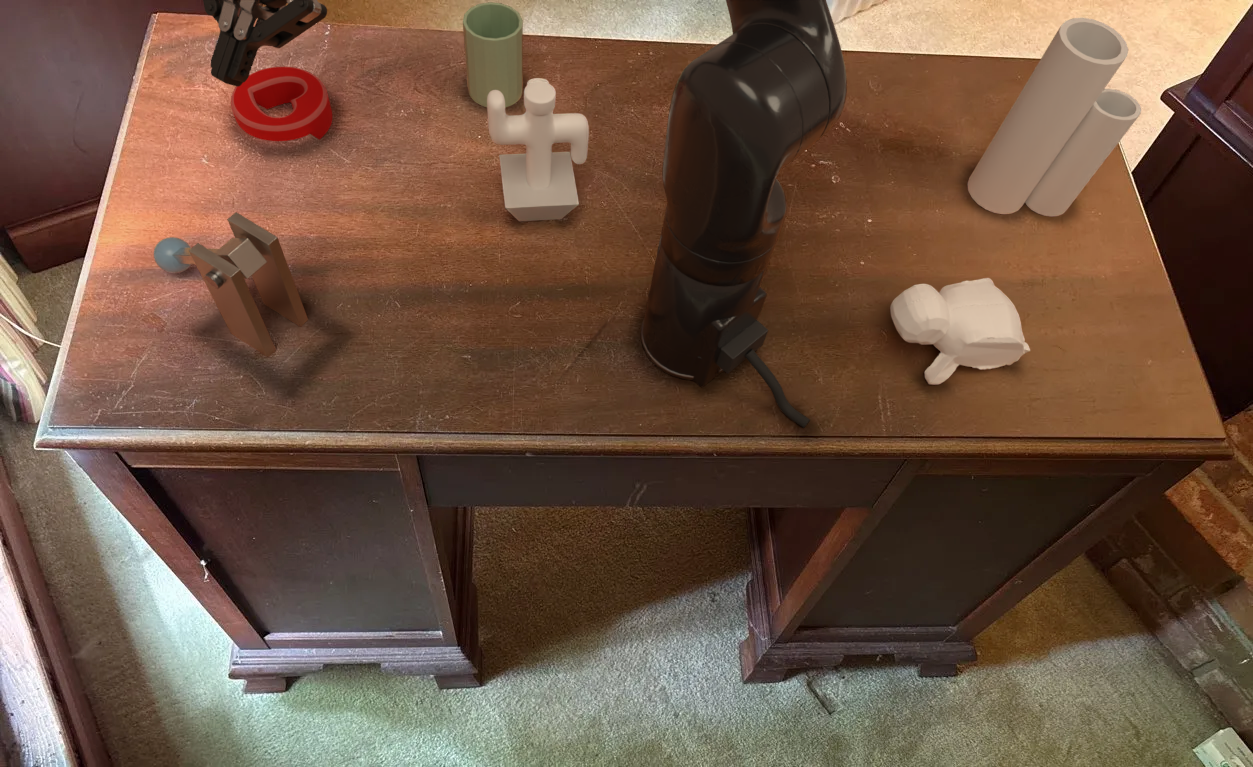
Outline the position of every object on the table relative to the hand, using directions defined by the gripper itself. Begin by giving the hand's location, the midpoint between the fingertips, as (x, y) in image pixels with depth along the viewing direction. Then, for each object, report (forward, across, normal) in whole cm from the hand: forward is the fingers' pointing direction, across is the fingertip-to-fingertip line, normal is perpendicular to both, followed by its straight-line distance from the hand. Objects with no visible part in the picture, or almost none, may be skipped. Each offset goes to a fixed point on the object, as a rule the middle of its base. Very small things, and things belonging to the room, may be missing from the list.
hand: (225, 81), depth 74 cm
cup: (-8, +7, +30) cm, 32 cm away
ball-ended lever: (+15, +7, -1) cm, 16 cm away
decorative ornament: (+4, -7, +18) cm, 20 cm away
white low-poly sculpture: (-6, +63, +28) cm, 70 cm away
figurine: (0, +21, +22) cm, 31 cm away
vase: (-24, +63, +46) cm, 82 cm away
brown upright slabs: (+19, +11, +3) cm, 22 cm away
